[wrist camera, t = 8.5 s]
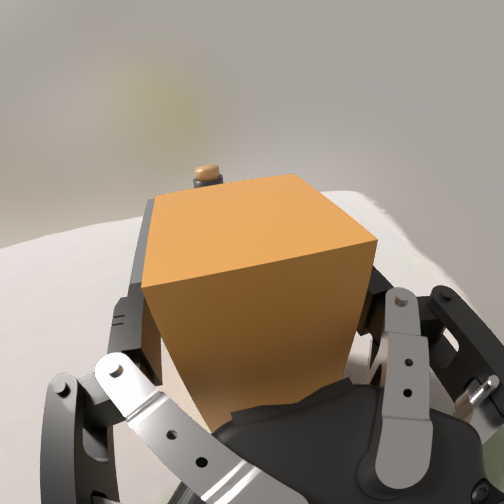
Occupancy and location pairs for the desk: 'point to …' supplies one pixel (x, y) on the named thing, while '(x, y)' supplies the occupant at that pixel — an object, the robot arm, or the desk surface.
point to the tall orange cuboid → (255, 290)
